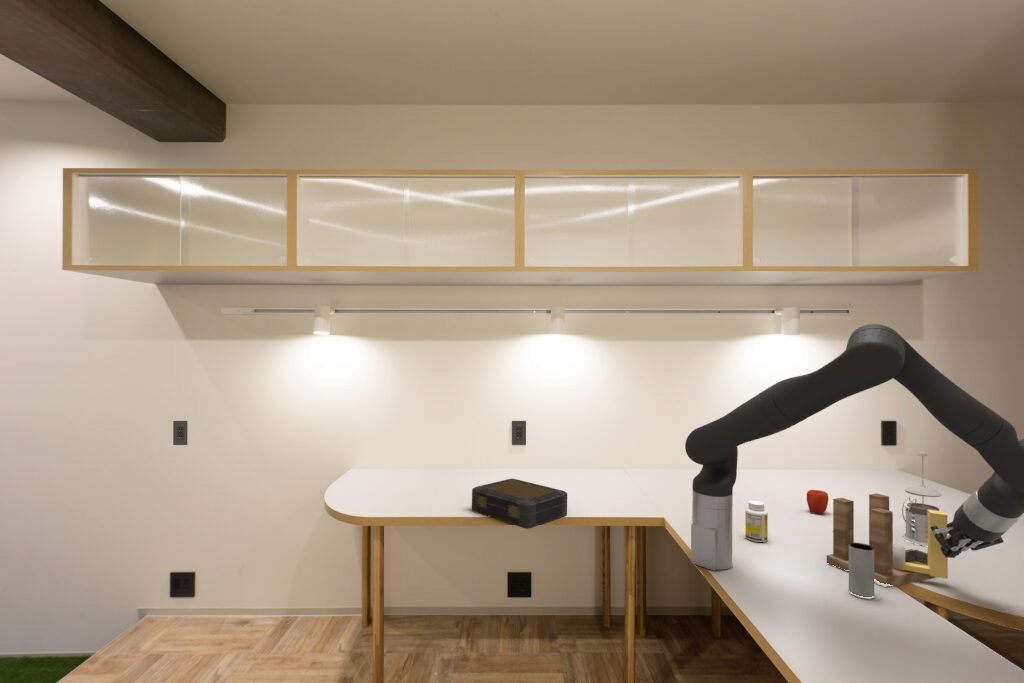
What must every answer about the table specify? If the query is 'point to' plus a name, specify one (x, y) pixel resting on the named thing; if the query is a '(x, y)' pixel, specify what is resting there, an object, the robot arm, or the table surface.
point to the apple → (817, 501)
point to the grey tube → (861, 569)
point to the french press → (918, 512)
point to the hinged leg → (935, 555)
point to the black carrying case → (519, 502)
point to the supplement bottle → (756, 522)
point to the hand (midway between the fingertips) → (947, 553)
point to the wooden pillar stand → (873, 541)
